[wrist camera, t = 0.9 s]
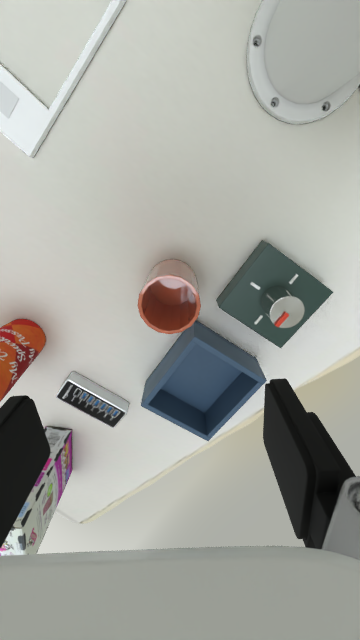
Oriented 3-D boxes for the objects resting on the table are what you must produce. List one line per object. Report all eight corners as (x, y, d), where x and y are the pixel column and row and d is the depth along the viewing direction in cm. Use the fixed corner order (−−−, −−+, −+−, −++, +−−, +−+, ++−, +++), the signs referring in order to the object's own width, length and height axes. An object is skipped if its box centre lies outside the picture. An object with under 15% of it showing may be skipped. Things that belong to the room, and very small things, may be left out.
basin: (193, 318, 40) (194, 336, 35) (256, 358, 43) (266, 380, 38) (145, 381, 45) (140, 405, 40) (205, 414, 47) (208, 441, 42)
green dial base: (262, 240, 36) (269, 243, 33) (322, 285, 38) (334, 292, 35) (216, 299, 39) (218, 307, 36) (274, 338, 41) (281, 348, 39)
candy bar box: (44, 424, 49) (-19, 524, 34) (72, 428, 49) (22, 528, 34) (46, 468, 53) (-8, 573, 38) (72, 471, 53) (28, 577, 38)
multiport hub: (116, 419, 48) (113, 429, 46) (60, 388, 46) (54, 397, 43) (130, 403, 47) (127, 412, 44) (72, 370, 44) (67, 378, 42)
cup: (165, 249, 36) (159, 262, 28) (206, 277, 38) (212, 298, 30) (139, 289, 39) (126, 313, 30) (178, 314, 40) (177, 344, 32)
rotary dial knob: (274, 279, 35) (287, 290, 30) (297, 296, 36) (313, 309, 31) (253, 303, 36) (263, 317, 32) (276, 319, 37) (289, 335, 32)
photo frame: (-100, 44, 28) (-20, -174, 22) (-90, 50, 29) (-11, -157, 23) (28, 156, 31) (123, -7, 26) (33, 158, 32) (126, 1, 27)
